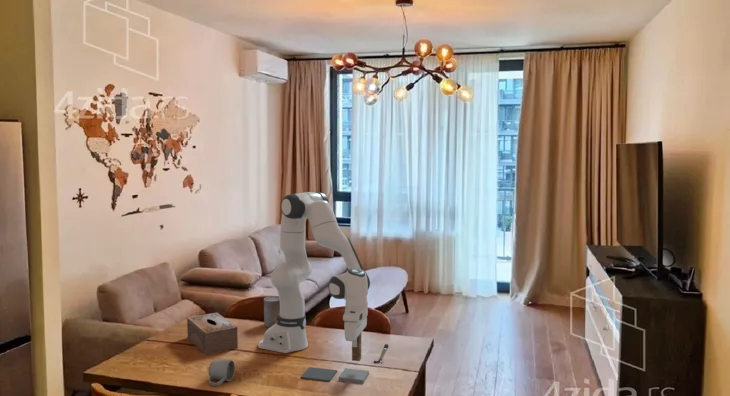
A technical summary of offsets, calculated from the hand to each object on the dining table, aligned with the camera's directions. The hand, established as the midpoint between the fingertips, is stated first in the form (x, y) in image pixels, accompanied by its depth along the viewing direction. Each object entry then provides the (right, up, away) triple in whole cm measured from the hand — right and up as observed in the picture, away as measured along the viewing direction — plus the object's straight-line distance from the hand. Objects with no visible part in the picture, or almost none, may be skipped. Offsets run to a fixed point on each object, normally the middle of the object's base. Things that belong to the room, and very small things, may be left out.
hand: (356, 344), depth 226 cm
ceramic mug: (-52, -13, -6) cm, 54 cm away
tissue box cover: (-67, -9, +35) cm, 76 cm away
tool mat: (-15, -12, 0) cm, 19 cm away
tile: (0, -11, +3) cm, 12 cm away
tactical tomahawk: (+12, -11, +22) cm, 27 cm away
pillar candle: (-43, -6, +61) cm, 74 cm away
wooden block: (0, -6, +1) cm, 6 cm away
